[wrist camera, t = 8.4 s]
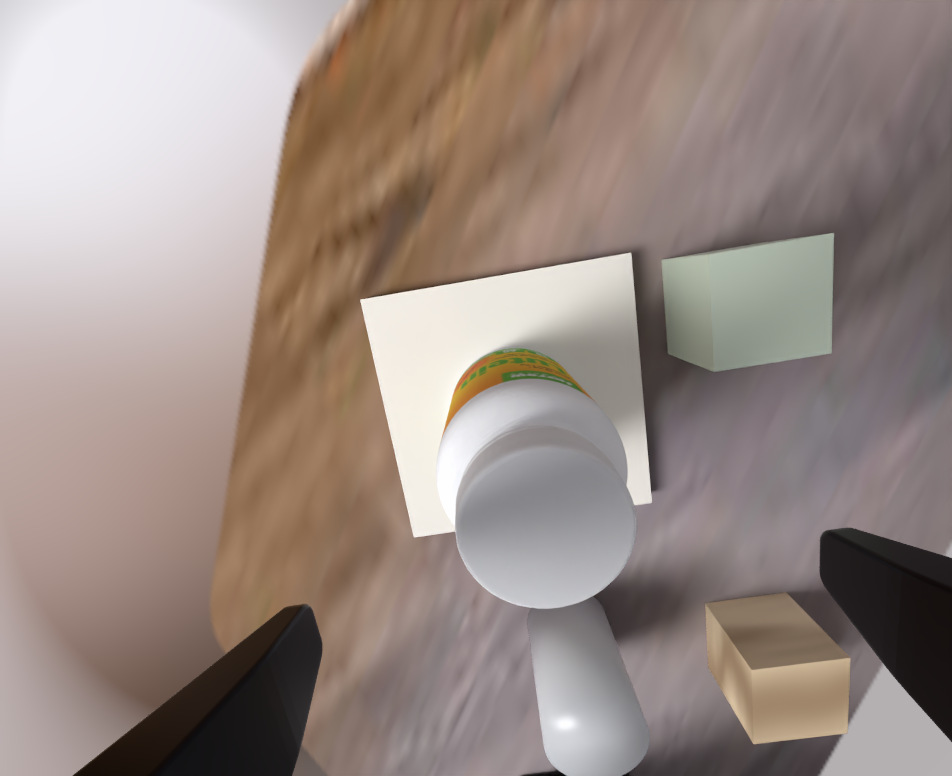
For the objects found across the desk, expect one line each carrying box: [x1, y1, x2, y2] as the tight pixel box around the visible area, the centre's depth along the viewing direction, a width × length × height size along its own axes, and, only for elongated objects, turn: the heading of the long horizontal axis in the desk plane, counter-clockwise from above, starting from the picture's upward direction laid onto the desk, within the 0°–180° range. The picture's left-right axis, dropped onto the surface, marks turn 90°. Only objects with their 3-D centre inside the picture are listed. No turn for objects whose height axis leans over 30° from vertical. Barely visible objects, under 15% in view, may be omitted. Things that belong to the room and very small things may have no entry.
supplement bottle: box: [436, 347, 637, 609], centre depth 14 cm, size 5×5×10 cm
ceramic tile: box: [360, 253, 652, 537], centre depth 19 cm, size 11×11×1 cm
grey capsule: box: [527, 596, 650, 776], centre depth 20 cm, size 4×4×6 cm
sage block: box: [662, 233, 834, 372], centre depth 17 cm, size 4×4×4 cm
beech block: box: [705, 593, 850, 744], centre depth 21 cm, size 4×4×4 cm
